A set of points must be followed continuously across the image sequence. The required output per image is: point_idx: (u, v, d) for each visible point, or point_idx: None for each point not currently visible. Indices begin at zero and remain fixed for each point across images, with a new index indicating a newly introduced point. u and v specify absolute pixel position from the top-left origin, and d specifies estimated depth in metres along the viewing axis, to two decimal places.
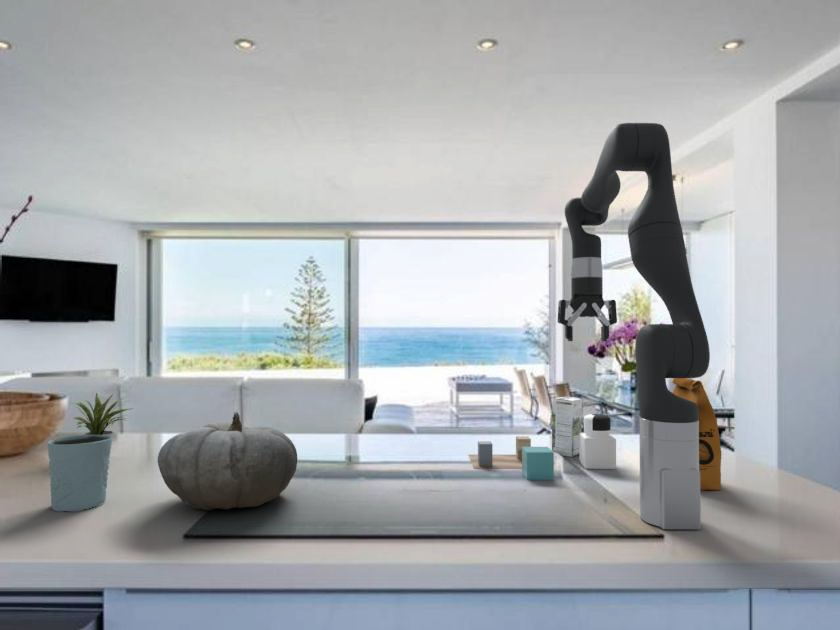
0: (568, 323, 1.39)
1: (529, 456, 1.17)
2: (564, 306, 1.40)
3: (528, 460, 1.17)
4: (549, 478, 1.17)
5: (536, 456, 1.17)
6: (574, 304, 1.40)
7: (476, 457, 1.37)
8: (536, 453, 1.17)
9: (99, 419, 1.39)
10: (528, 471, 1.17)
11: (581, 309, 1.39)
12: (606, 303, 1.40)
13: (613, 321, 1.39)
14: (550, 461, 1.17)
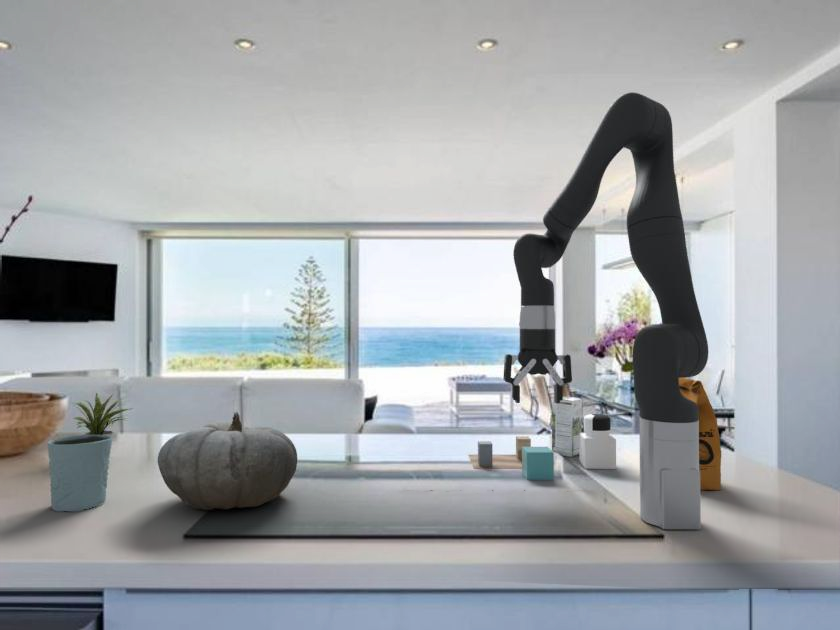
0: (515, 382, 1.19)
1: (529, 456, 1.17)
2: (510, 362, 1.19)
3: (528, 460, 1.17)
4: (549, 478, 1.17)
5: (536, 456, 1.17)
6: (522, 360, 1.19)
7: (476, 457, 1.37)
8: (536, 453, 1.17)
9: (99, 419, 1.39)
10: (528, 471, 1.17)
11: (530, 366, 1.19)
12: (560, 358, 1.20)
13: (567, 380, 1.19)
14: (550, 461, 1.17)
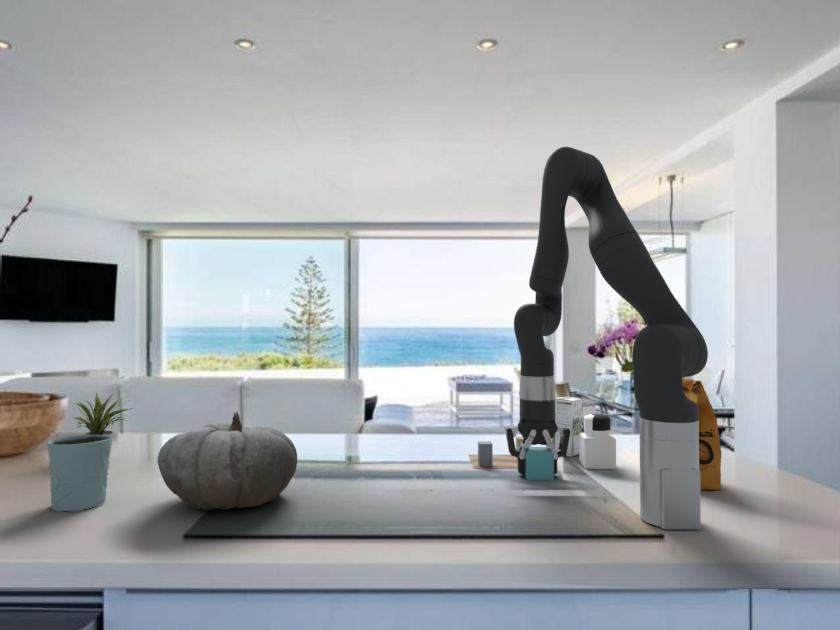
0: (520, 456, 1.19)
1: (529, 456, 1.17)
2: (512, 436, 1.19)
3: (528, 460, 1.17)
4: (549, 478, 1.17)
5: (536, 456, 1.17)
6: (522, 430, 1.19)
7: (476, 457, 1.37)
8: (536, 453, 1.17)
9: (99, 419, 1.39)
10: (528, 471, 1.17)
11: (531, 437, 1.18)
12: (559, 430, 1.20)
13: (562, 453, 1.19)
14: (550, 461, 1.17)
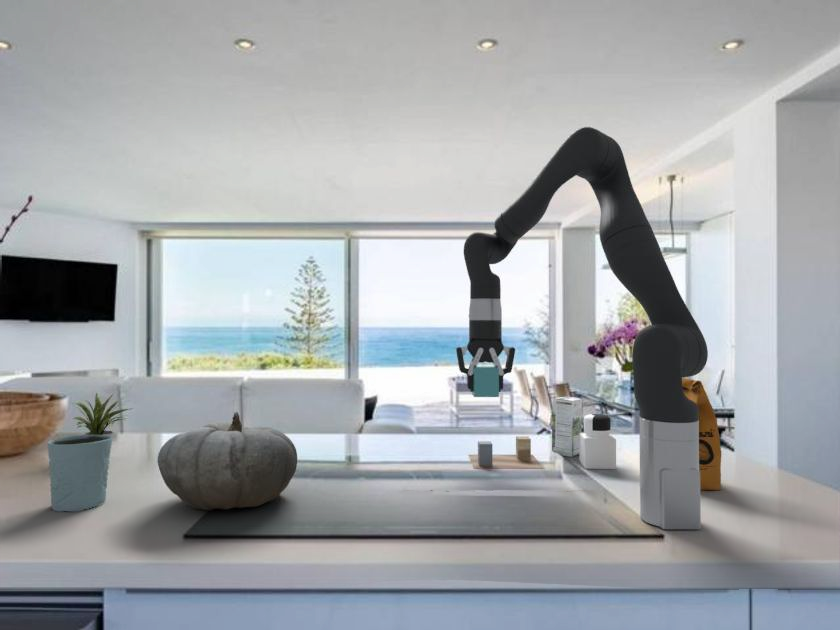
0: (469, 372, 1.29)
1: (476, 371, 1.28)
2: (461, 354, 1.29)
3: (475, 375, 1.28)
4: (495, 391, 1.27)
5: (482, 371, 1.28)
6: (471, 349, 1.29)
7: (476, 457, 1.37)
8: (483, 369, 1.28)
9: (99, 419, 1.39)
10: (475, 385, 1.27)
11: (479, 355, 1.29)
12: (505, 349, 1.30)
13: (507, 370, 1.29)
14: (496, 376, 1.28)
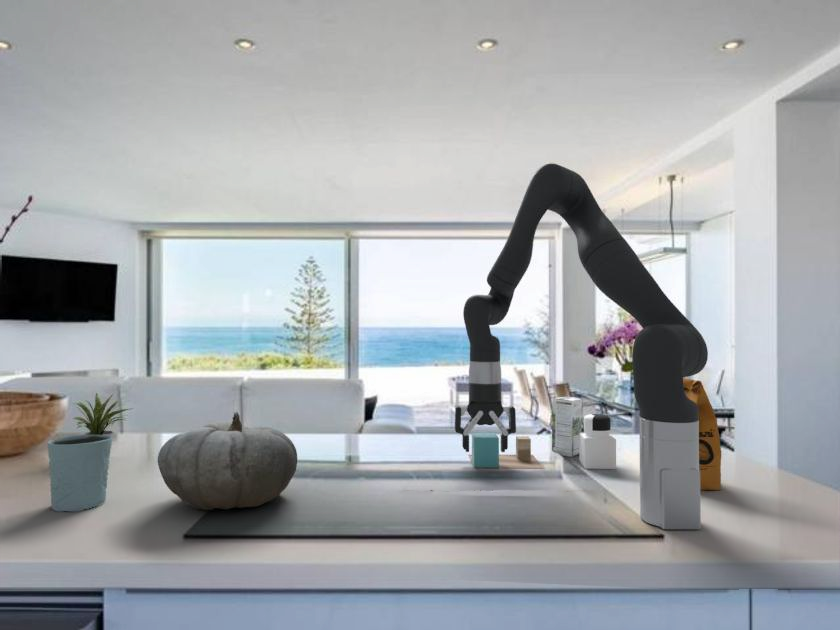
0: (464, 433, 1.29)
1: (476, 441, 1.27)
2: (459, 414, 1.29)
3: (475, 445, 1.27)
4: (494, 462, 1.27)
5: (482, 441, 1.27)
6: (470, 411, 1.29)
7: None
8: (483, 439, 1.27)
9: (99, 419, 1.39)
10: (475, 455, 1.27)
11: (477, 417, 1.28)
12: (505, 410, 1.30)
13: (512, 430, 1.29)
14: (495, 446, 1.27)
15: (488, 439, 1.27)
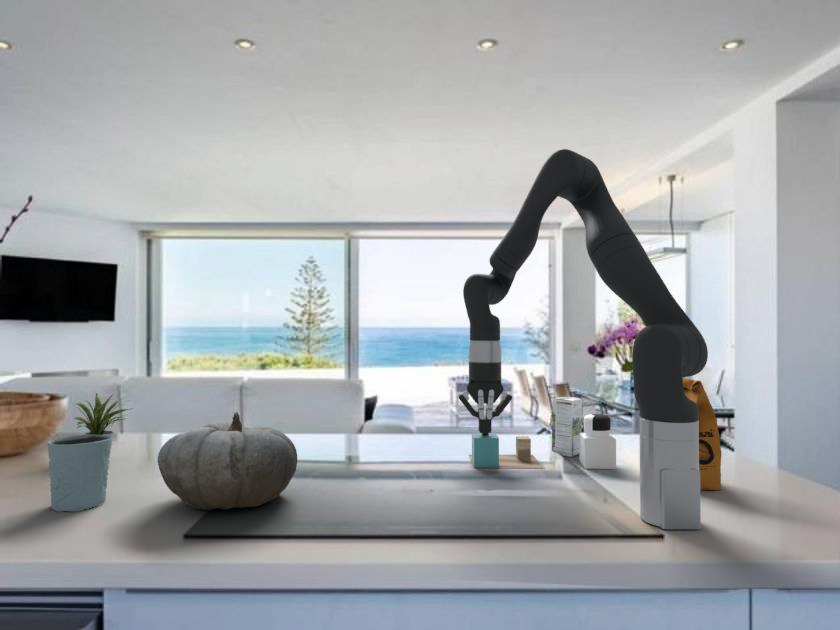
0: (480, 416, 1.29)
1: (476, 441, 1.27)
2: (465, 400, 1.29)
3: (475, 445, 1.27)
4: (494, 462, 1.27)
5: (482, 441, 1.27)
6: (472, 391, 1.29)
7: None
8: (483, 439, 1.27)
9: (99, 419, 1.39)
10: (475, 455, 1.27)
11: (481, 397, 1.28)
12: (503, 394, 1.30)
13: (495, 414, 1.29)
14: (495, 446, 1.27)
15: (488, 439, 1.27)
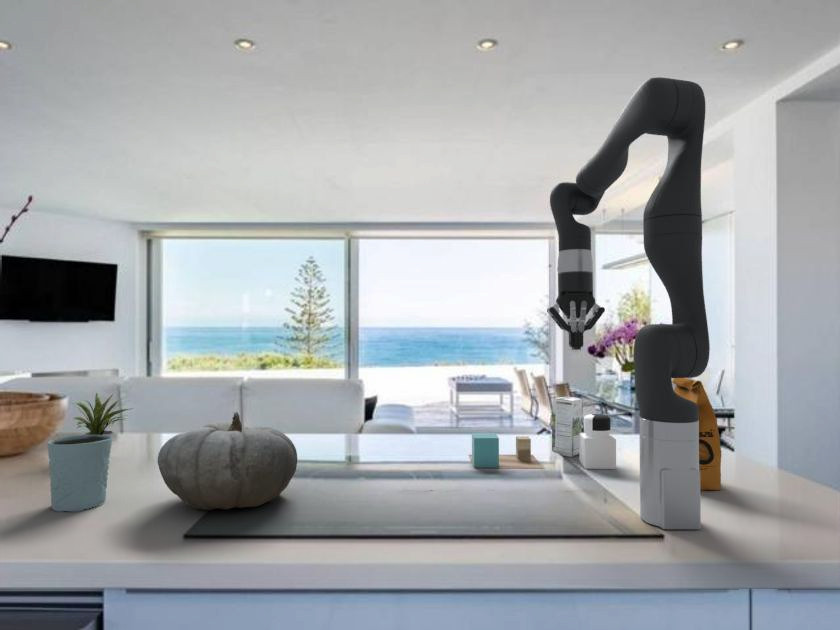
0: (572, 329, 1.23)
1: (476, 441, 1.27)
2: (556, 312, 1.23)
3: (475, 445, 1.27)
4: (494, 462, 1.27)
5: (482, 441, 1.27)
6: (563, 303, 1.24)
7: None
8: (483, 439, 1.27)
9: (99, 419, 1.39)
10: (475, 455, 1.27)
11: (573, 309, 1.23)
12: (595, 306, 1.24)
13: (588, 327, 1.23)
14: (495, 446, 1.27)
15: (488, 439, 1.27)
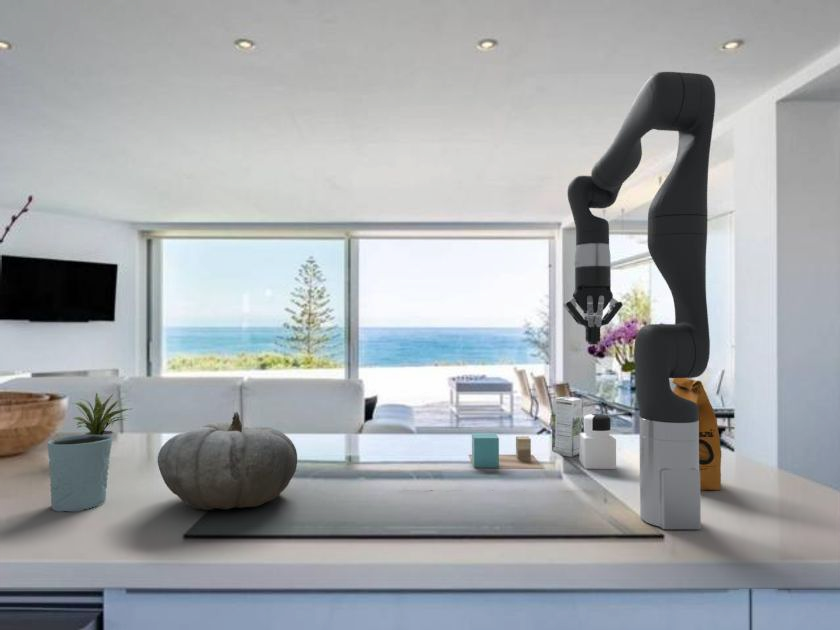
0: (589, 324, 1.22)
1: (476, 441, 1.27)
2: (573, 307, 1.23)
3: (475, 445, 1.27)
4: (494, 462, 1.27)
5: (482, 441, 1.27)
6: (580, 298, 1.23)
7: None
8: (483, 439, 1.27)
9: (99, 419, 1.39)
10: (475, 455, 1.27)
11: (590, 303, 1.22)
12: (612, 301, 1.23)
13: (605, 321, 1.22)
14: (495, 446, 1.27)
15: (488, 439, 1.27)
